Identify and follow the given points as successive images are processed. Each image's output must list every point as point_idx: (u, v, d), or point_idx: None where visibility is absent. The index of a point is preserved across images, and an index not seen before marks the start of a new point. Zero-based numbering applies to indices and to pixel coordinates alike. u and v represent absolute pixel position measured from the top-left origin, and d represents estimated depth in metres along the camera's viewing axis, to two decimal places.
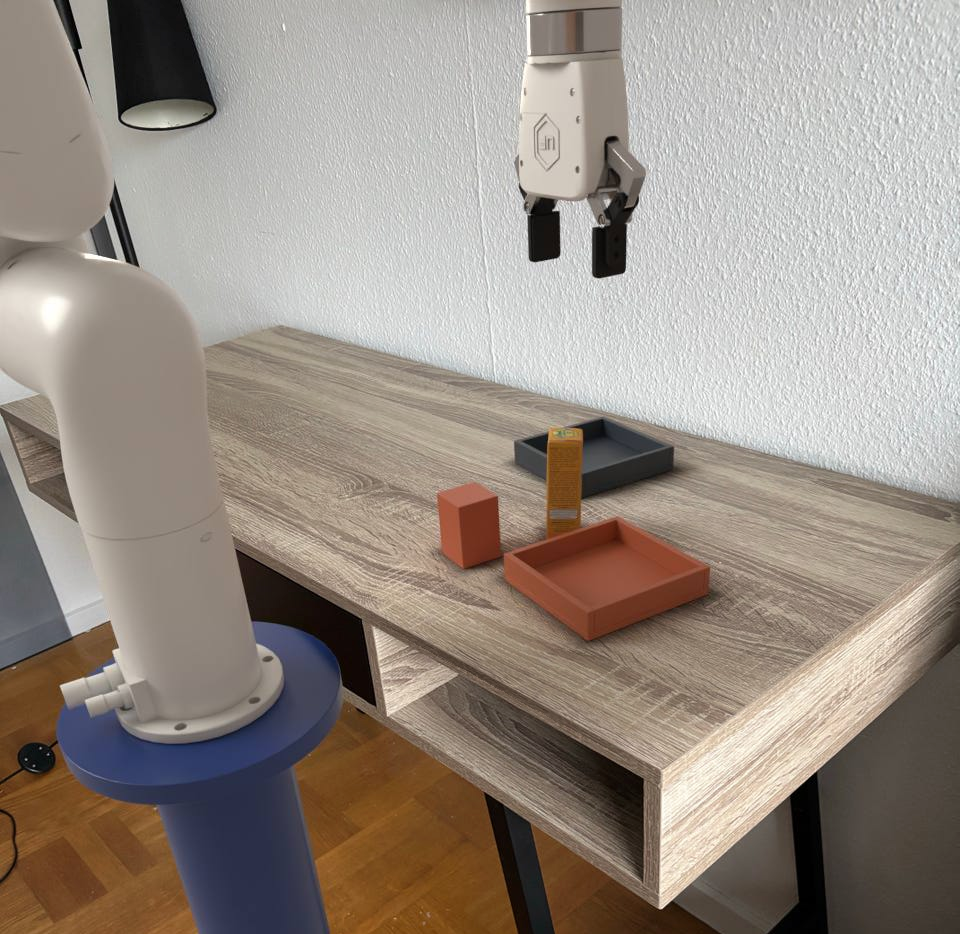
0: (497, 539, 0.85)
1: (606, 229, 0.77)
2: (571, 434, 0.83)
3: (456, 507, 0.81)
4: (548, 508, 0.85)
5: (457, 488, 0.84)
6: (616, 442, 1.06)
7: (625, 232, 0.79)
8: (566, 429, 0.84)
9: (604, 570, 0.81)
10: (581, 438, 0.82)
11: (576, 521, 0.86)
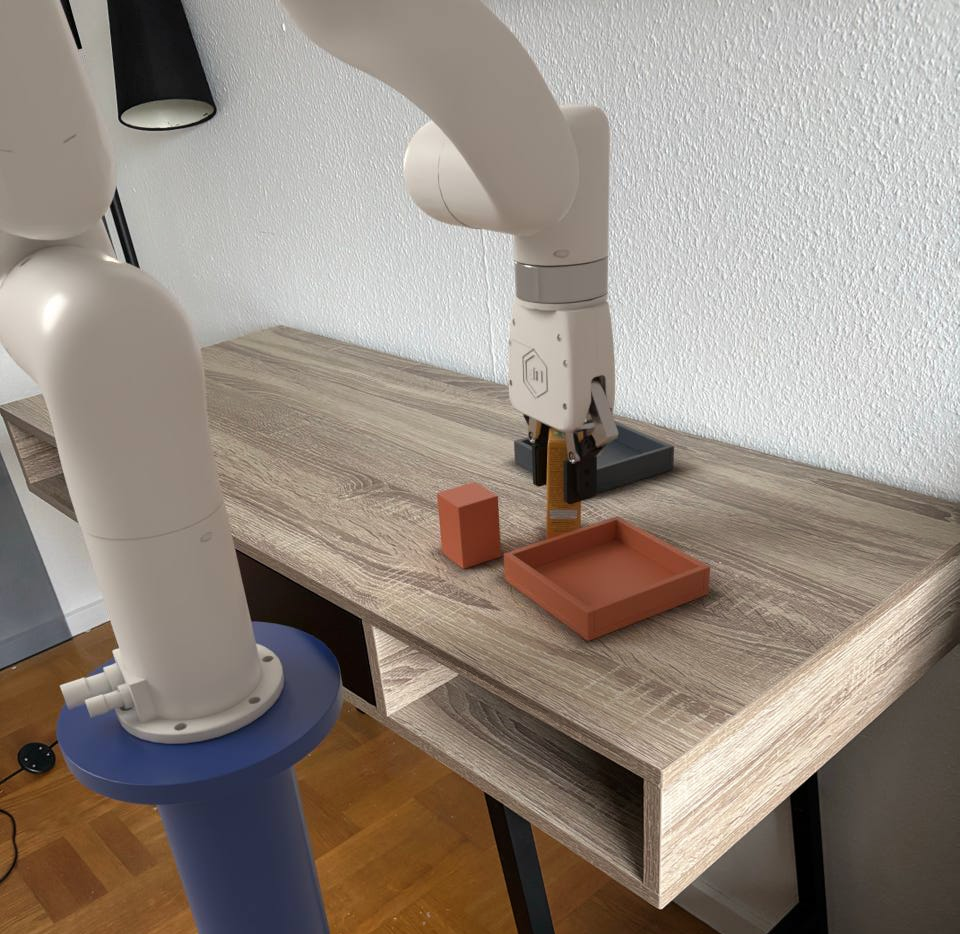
0: (497, 539, 0.85)
1: (576, 463, 0.81)
2: None
3: (456, 507, 0.81)
4: (549, 508, 0.85)
5: (457, 488, 0.84)
6: (616, 442, 1.06)
7: (595, 462, 0.83)
8: None
9: (604, 570, 0.81)
10: (581, 438, 0.82)
11: (575, 521, 0.86)
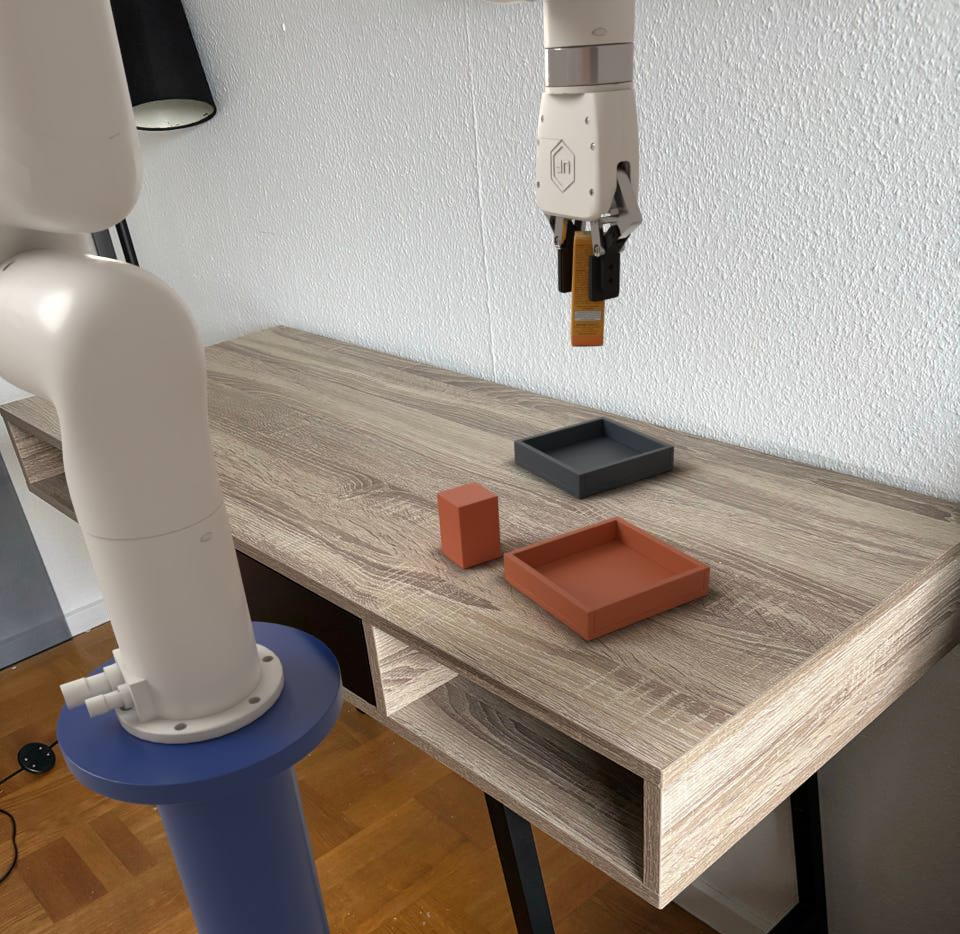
0: (497, 539, 0.85)
1: (601, 258, 0.85)
2: None
3: (456, 507, 0.81)
4: (574, 309, 0.89)
5: (457, 488, 0.84)
6: (616, 442, 1.06)
7: (618, 260, 0.87)
8: None
9: (604, 570, 0.81)
10: None
11: (599, 324, 0.90)
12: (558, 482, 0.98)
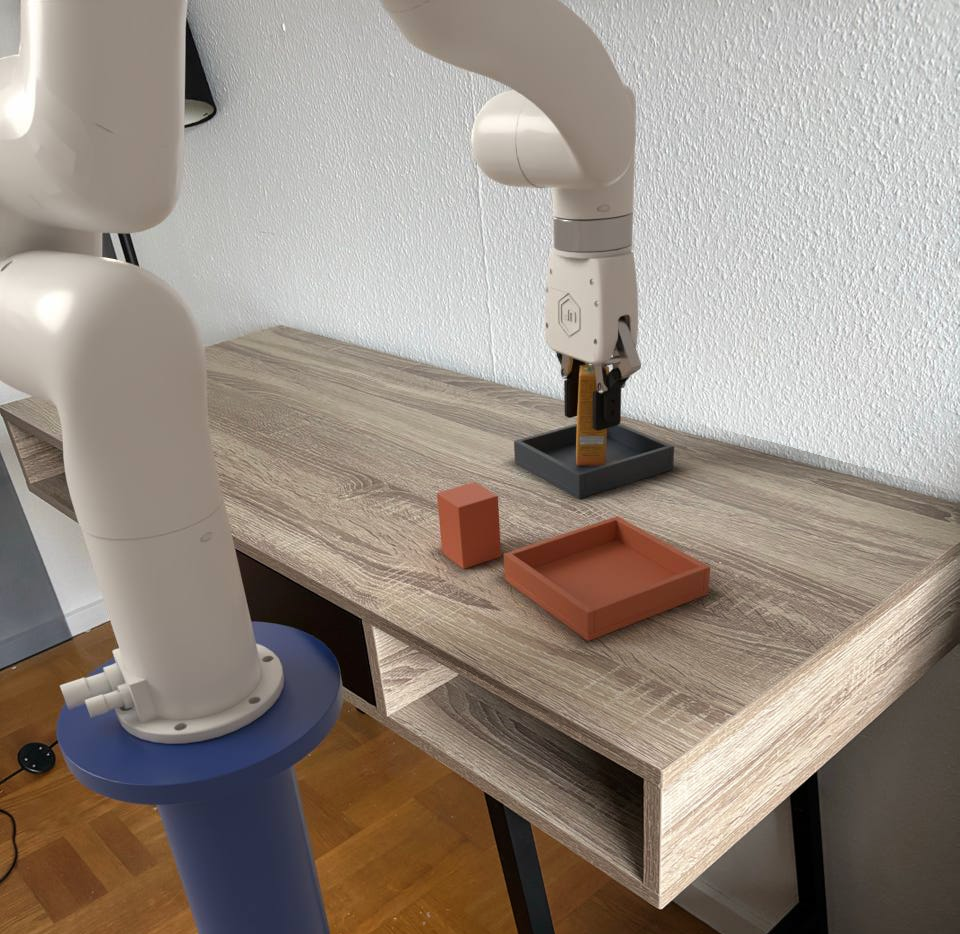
0: (497, 539, 0.85)
1: (604, 393, 0.95)
2: None
3: (456, 507, 0.81)
4: (579, 434, 0.99)
5: (457, 488, 0.84)
6: (616, 442, 1.06)
7: (619, 393, 0.96)
8: None
9: (604, 570, 0.81)
10: (608, 372, 0.96)
11: (602, 447, 0.99)
12: (558, 482, 0.98)
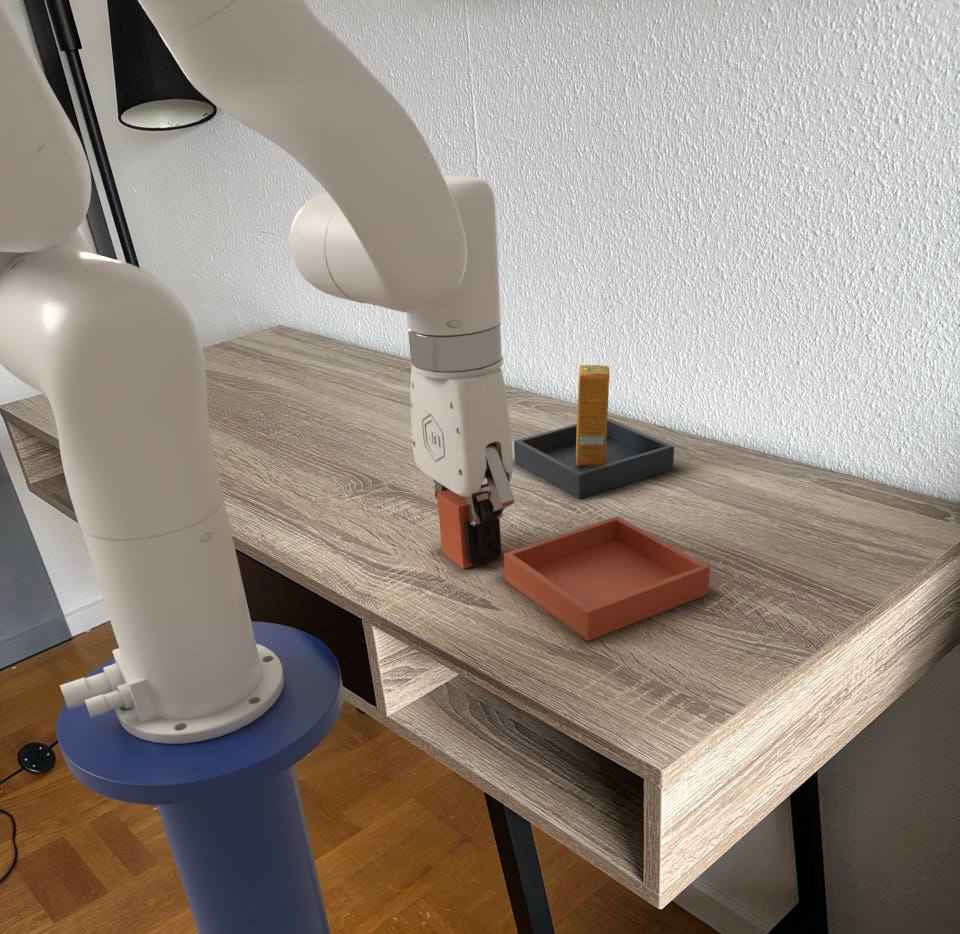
0: None
1: (477, 525, 0.81)
2: (599, 369, 0.96)
3: (456, 507, 0.81)
4: (579, 434, 0.99)
5: None
6: (616, 442, 1.06)
7: (497, 523, 0.83)
8: (594, 366, 0.97)
9: (604, 570, 0.81)
10: (608, 372, 0.96)
11: (602, 447, 0.99)
12: (558, 482, 0.98)
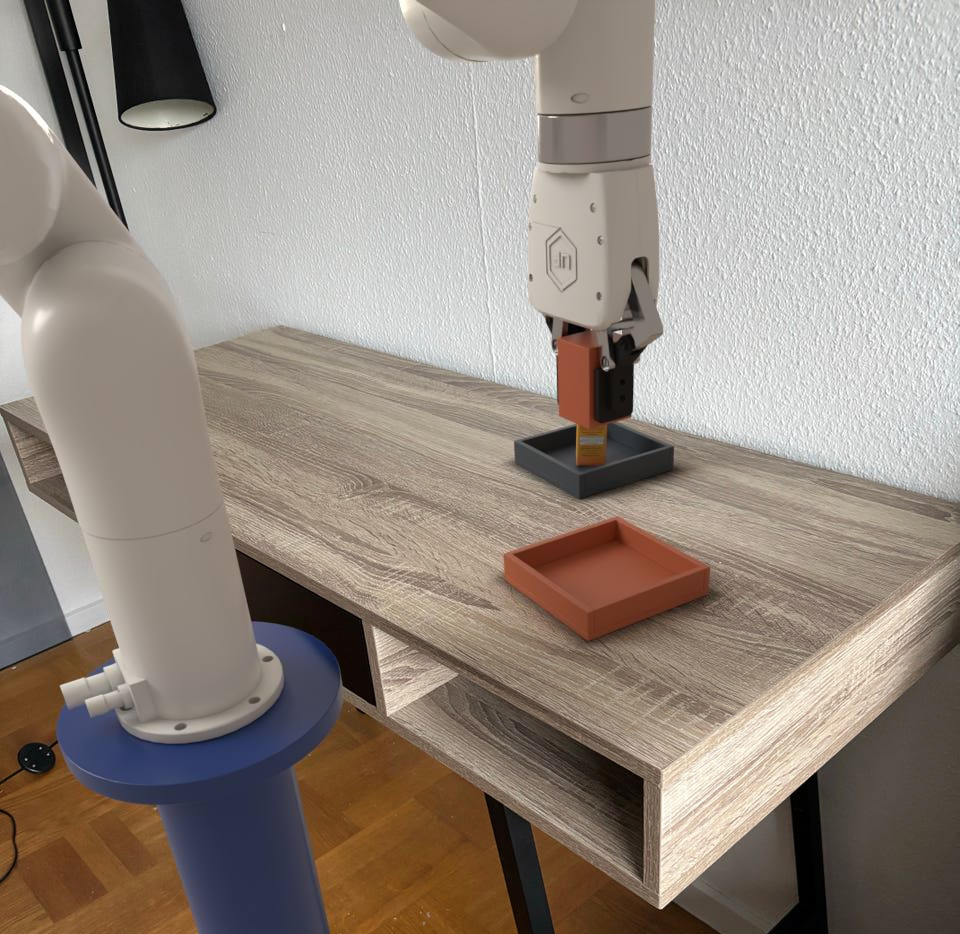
0: None
1: (610, 371, 0.68)
2: None
3: (585, 349, 0.67)
4: (579, 434, 0.99)
5: (581, 333, 0.71)
6: (616, 442, 1.06)
7: (632, 371, 0.69)
8: None
9: (604, 570, 0.81)
10: None
11: (602, 447, 0.99)
12: (558, 482, 0.98)
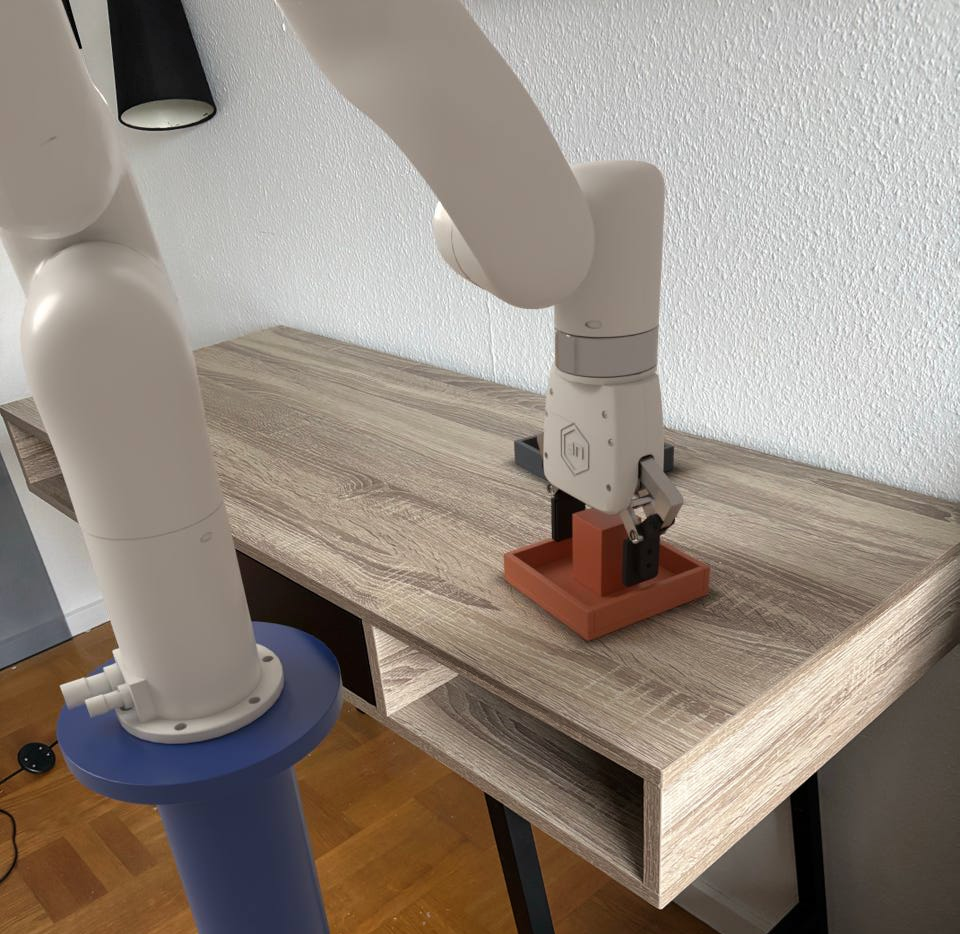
0: None
1: (638, 543, 0.72)
2: None
3: (598, 530, 0.74)
4: None
5: (594, 509, 0.78)
6: None
7: (658, 539, 0.73)
8: None
9: None
10: None
11: None
12: None
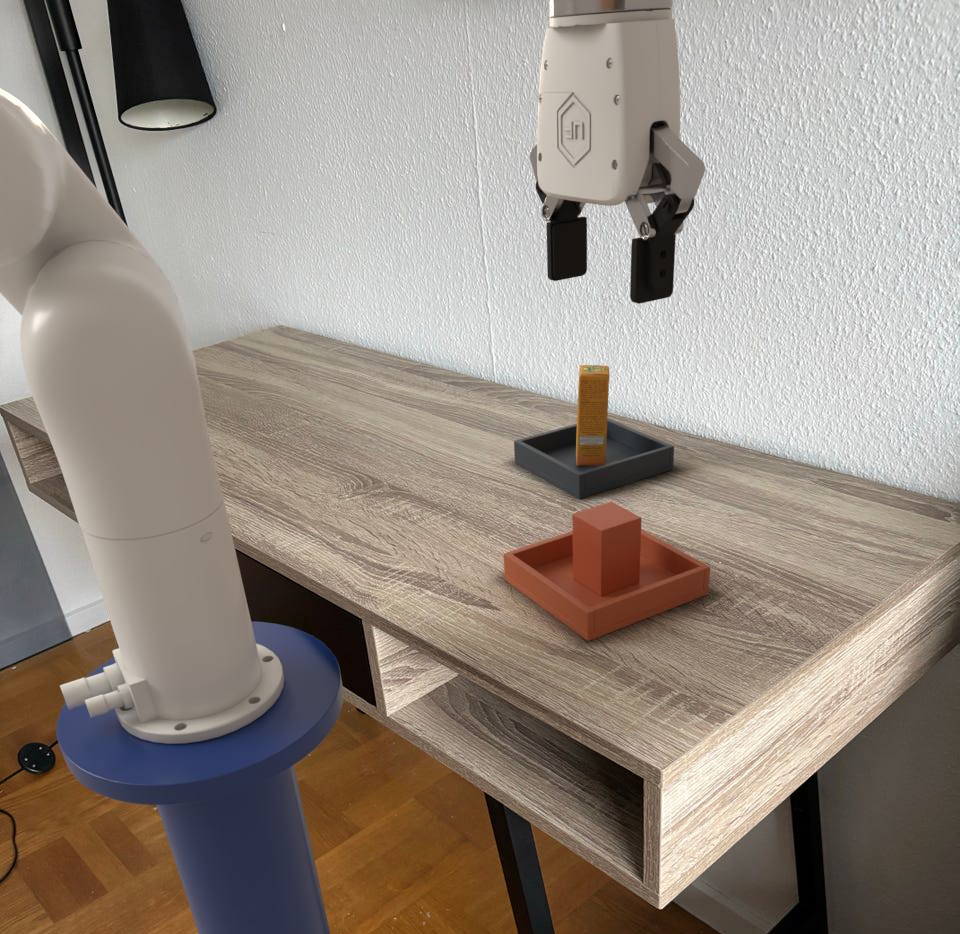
0: (637, 564, 0.78)
1: (650, 241, 0.60)
2: (599, 369, 0.96)
3: (598, 530, 0.74)
4: (579, 434, 0.99)
5: (594, 509, 0.78)
6: (616, 442, 1.06)
7: (673, 244, 0.62)
8: (594, 366, 0.97)
9: None
10: (608, 372, 0.96)
11: (602, 447, 0.99)
12: (558, 482, 0.98)
